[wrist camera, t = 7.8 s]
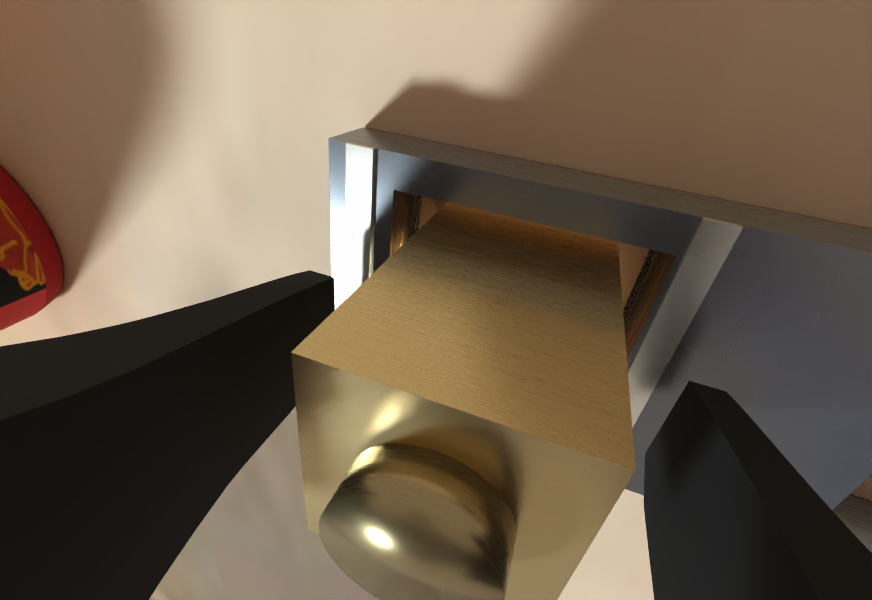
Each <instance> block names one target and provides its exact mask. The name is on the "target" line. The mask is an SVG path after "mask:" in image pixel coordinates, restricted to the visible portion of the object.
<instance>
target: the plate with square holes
mask: <svg viewBox="0 0 872 600" xmlns="http://www.w3.org/2000/svg"><path fill="white" fill-rule="evenodd" d="M329 178H330V222H331V266H332V277H334V284H335V309H337V308H338V307H339V306H340V305H341V304H342V303H343V302H344V301H345V300H346V299H347V298H348V297H349V296H350V295H351V294H352V293H353V292H354V291H355V290H356V289H357V288H358V287H359V286H360V285H361V284H362V283H363V282H365V281H366V280H367V279H368V278H369V277H370V276H371V275H372V274H373V273H374V272H375V271H376V270H377V269H378V268H379V267H380V266H381V265H382V264H383V263H384V262H385V261H386V260H387V259H388V258H389V257H390V256H391V255H393V254H394V253H395V252H396V251H397V250H398V249H399V248H400V247H401V246H402V245H403V244H404V243H405V242H406V241H407V240H408V239H409V238H410V237H411V236H412V235H413V234H414V227H415V217H416V206H417V195H418V196H422V201H421V211H420V221H419V228H421V227H422V226H423V225H424V224H425V223H426V222H427V221H428V220H429V219H430V218H431V217H432V216H433V215H434V214H435V213H436V212H437V211H438V210H439V209H440V208H441V207H442V206H443V205H448V206H452V207H456V208H461V209H465V210H469V211H474V212H478V213H482V214H486V215H491V216H495V217H499V218H504V219H508V220H512V221H516V222H521V223H525V224H529V225H534V226H538V227H542V228H546V229H551V230H555V231H559V232H564V233H568V234H572V235H576V236H581V237H585V238H589V239H594V240H598V241H602V242H606V243H611V244H615V245H618V249H619V262H620V275H621V288H622V301H623V310H624V307H625V305H626V303H627V300H628V298H629V296H630V293H631V291H632V289H633V287H634V284H635V282H636V280H637V277H638V275H639V273H640V270H641V268H642V266H643V264H644V261H645V259H646V257H647V254H648V252H649V250H650V249H651V250H656V252H655V254H654V256H653V259H652V261H651V263H650V265H649V268H648V270H647V272H646V274H645V277H644V279H643V281H642V283H641V286H640V288H639V290H638V292H637V295H636V297H635V299H634V301H633V304H632V306H631V308H630V310H629V313H628V315H627V317H626V319H625V322H624V327H625V340H626V353H627V366H628V379H629V392H630V406H631V419H632V432H633V445H634V458H635V472H634V474H633V475H632V477H631V479H630V480H629V482H628V483H627V485H626V487H625V489H627V490H630V491H633V492H636V493H639V494H642V495H644V470H645V453H646V451H647V449H648V448H649V446H650V444H651V443H652V441H653V439H654V438H655V436H656V435H657V433H658V431H659V430H660V428H661V426H662V425H663V423H664V421H665V420H666V418H667V416H668V415H669V413H670V411H671V410H672V408H673V406H674V405H675V403H676V401H677V400H678V398H679V397H680V395H681V393H682V392H683V390H684V388H685V387H686V385H687V383H688V382H689V381H692V382H696V383H699V384H703V385H706V386H709V387H713V388H716V389H720V390H723V391H726V392H727V393H728V394H729V395H730V396H731V397H732V398H733V399H734V400H735V401H736V402H737V403H738V404H739V405H740V406H741V407H742V408H743V410H744V411H745V412H746V413H747V414H748V415H749V416H750V417H751V419H752V420H753V421H754V422H755V423H756V424H757V425H758V427H759V428H760V429H761V430H762V431H763V432H764V433H765V435H766V436H767V437H768V438H769V439H770V440H771V442H772V443H773V444H774V445H775V446H776V447H777V448H778V450H779V451H780V452H781V453H782V454H783V455H784V457H785V458H786V459H787V460H788V461H789V462H790V463H791V465H792V466H793V467H794V468H795V469H796V470H797V471H798V473H799V474H800V475H801V476H802V477H803V478H804V479H805V481H806V482H807V483H808V484H809V485H810V486H811V487H812V488H813V490H814V491H815V492H816V493H817V494H818V495H819V496H820V498H821V499H822V500H823V501H824V502H825V503H826V504H827V505H828V506H829V508H830V509H831V510H832V511H833V512H834V513H835V514H836V515H837V516H838V517H839V519H840V520H841V521H842V522H843V523H844V524H845V525H846V526H847V527H848V528H849V529H850V530H851V532H852V533H853V534H854V535H855V536H856V537H857V538H858V539H859V540H860V541H861V542H862V543H863V544H864V545H865V547H866V548H867V549H868V550H869V551H870V552H871V553H872V502H870V501H867V500H863V499H860V498H857V497H854V496H851V495H849V494H850V493H852V492H853V491H854V490H855V489H856V488H857V487H858V486H859V485H861V484H862V483H863V482H864V481H865V480H866V479H867V478H868V477H869V476H871V475H872V229H867V228H862V227H857V226H852V225H847V224H842V223H837V222H832V221H827V220H822V219H817V218H812V217H807V216H802V215H797V214H792V213H787V212H782V211H777V210H772V209H767V208H762V207H757V206H752V205H747V204H742V203H737V202H732V201H727V200H722V199H717V198H712V197H707V196H702V195H697V194H692V193H687V192H682V191H677V190H672V189H667V188H662V187H657V186H652V185H647V184H642V183H637V182H632V181H627V180H622V179H617V178H612V177H607V176H602V175H597V174H592V173H587V172H582V171H577V170H572V169H567V168H562V167H557V166H552V165H547V164H542V163H537V162H532V161H527V160H522V159H517V158H512V157H507V156H502V155H497V154H492V153H487V152H482V151H477V150H472V149H467V148H462V147H457V146H452V145H447V144H442V143H437V142H432V141H427V140H422V139H417V138H412V137H407V136H402V135H397V134H392V133H387V132H382V131H377V130H372V129H368V128H360V129H357V130H354V131H350V132H347V133H344V134H341V135H338V136H335V137H332V138H329Z"/></svg>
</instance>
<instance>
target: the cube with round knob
mask: <svg viewBox="0 0 872 600" xmlns="http://www.w3.org/2000/svg"><path fill="white" fill-rule="evenodd" d="M291 358H292V368H293V379H294V390H295V400H296V411H297V421H298V432H299V443H300V453H301V464H302V475H303V485H304V496H305V506H306V517H307V528H308V530H309V531H311V532H313V533H316V534H318V535H320V537H321V540H322V543H323V545H324V547H325V549H326V551H327V552H328V554H329V555H330V557H331V558H332V559H333V561H334V562H335V563H336V564H337V565H338V566H339V568H340V569H341V570H342V571H343V572H344V573H345V574H346V575H347V576H349V577H350V578H351V579H352V580H353V581H354V582H355V583H357V584H358V585H359V586H360V587H362V588H363V589H365V590H366V591H367V592H369V593H370V594H372V595H373V596H375V597H377V598H378V599H380V600H557V599H558V597H559V596H560V594H561V592H562V591H563V589H564V587H565V586H566V584H567V582H568V581H569V579H570V577H571V576H572V574H573V572H574V571H575V569H576V568H577V566H578V564H579V563H580V561H581V559H582V558H583V556H584V554H585V553H586V551H587V549H588V548H589V546H590V544H591V543H592V541H593V540H594V538H595V536H596V535H597V533H598V531H599V530H600V528H601V526H602V525H603V523H604V521H605V520H606V518H607V516H608V515H609V513H610V512H611V510H612V508H613V507H614V505H615V503H616V502H617V500H618V498H619V497H620V495H621V493H622V492H623V490H624V488H625V487H626V485H627V483H628V482H629V480H630V479H631V477H632V475H633V474H634V472H635V458H634V445H633V432H632V419H631V406H630V392H629V379H628V366H627V353H626V340H625V327H624V314H623V301H622V288H621V275H620V262H619V249H618V245H615V244H611V243H606V242H602V241H598V240H594V239H589V238H585V237H581V236H576V235H572V234H568V233H564V232H559V231H555V230H551V229H546V228H542V227H538V226H534V225H529V224H525V223H521V222H516V221H512V220H508V219H504V218H499V217H495V216H491V215H486V214H482V213H478V212H474V211H469V210H465V209H461V208H456V207H452V206H448V205H443V206H442V207H441V208H440V209H439V210H438V211H437V212H436V213H435V214H434V215H433V216H432V217H431V218H430V219H429V220H428V221H427V222H426V223H425V224H424V225H423V226H422V227H421V228H419V229H418V230H417V231H416V232H415V233H414V234H413V235H412V236H411V237H410V238H409V239H408V240H407V241H406V242H405V243H404V244H403V245H402V246H401V247H400V248H399V249H398V250H397V251H396V252H395V253H394V254H393V255H391V256H390V257H389V258H388V259H387V260H386V261H385V262H384V263H383V264H382V265H381V266H380V267H379V268H378V269H377V270H376V271H375V272H374V273H373V274H372V275H371V276H370V277H369V278H368V279H367V280H366V281H365V282H363V283H362V284H361V285H360V286H359V287H358V288H357V289H356V290H355V291H354V292H353V293H352V294H351V295H350V296H349V297H348V298H347V299H346V300H345V301H344V302H343V303H342V304H341V305H340V306H339V307H338V308H337V309H335V310H334V311H333V312H332V313H331V314H330V315H329V316H328V317H327V318H326V319H325V320H324V321H323V322H322V323H321V324H320V325H319V326H318V327H317V328H316V329H315V330H314V331H313V332H312V333H311V334H310V335H309V336H307V337H306V338H305V339H304V340H303V341H302V342H301V343H300V344H299V345H298V346H297V347H296V348H295V349H294V350H293V351H292V352H291Z"/></svg>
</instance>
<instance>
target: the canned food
mask: <svg viewBox="0 0 872 600" xmlns="http://www.w3.org/2000/svg"><path fill="white" fill-rule="evenodd" d="M62 283H63V265H62V260H61V257H60V253H59V250H58V247H57V245H56V242H55V240H54V238H53V236H52V233H51V231H50V230H49V228H48V226H47V224H46V223H45V221H44V219H43V217H42V215H41V214H40V213H39V211H38V210H37V208H36V207H35V206H34V204H33V203H32V201H31V200H30V198H29V197H28V196H27V195H26V194H25V192H24V191H23V190H22V189H21V188H20V186H19V185H18V184H17V183H16V182H15V181H14V180H13V179H12V178H11V177H10V176H9V175H8V174H7V173H6V172H5V171H4V170H3V169H2V168H1V167H0V330H3V329H5V328H7V327H9V326H11V325H13V324H15V323H18V322H20V321H22V320H24V319H26V318H28V317H30V316H33V315H34V314H36V313H37V312H39V311H40V310H42V309H43V308H44V307H45V306H46V305H48V304H49V303H50V302H51V301H52V300H54V299H55V298H56V297H57V296H58V294H59V292H60V291H61V289H62Z"/></svg>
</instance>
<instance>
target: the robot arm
mask: <svg viewBox="0 0 872 600" xmlns="http://www.w3.org/2000/svg"><path fill="white" fill-rule="evenodd" d="M334 310H335V284H334V277H331V276H327V275H324V274H320V273H317V272H313V271H305V272H301V273H297V274H293V275H289V276H286V277H283V278H279V279H276V280H273V281H269V282H266V283H263V284H260V285H257V286H254V287H250V288H247V289H244V290H241V291H238V292H234V293H231V294H228V295H225V296H222V297H219V298H215V299H212V300H209V301H205V302H202V303H198V304H195V305H191V306H188V307H184V308H181V309H177V310H173V311H170V312H166V313H163V314H159V315H156V316H152V317H148V318H144V319H140V320H136V321H132V322H128V323H124V324H120V325H115V326H111V327H106V328H101V329H97V330H92V331H87V332H82V333H78V334H73V335H67V336H62V337H57V338H50V339H44V340H38V341H32V342H26V343H19V344H13V345H7V346H1V347H0V600H149V598H150V597H151V595H152V594H153V592H154V591H155V589H156V587H157V586H158V584H159V583H160V581H161V580H162V578H163V577H164V575H165V574H166V572H167V571H168V569H169V568H170V566H171V565H172V564H173V562H174V561H175V559H176V558H177V556H178V555H179V553H180V552H181V550H182V549H183V547H184V546H185V544H186V543H187V542H188V540H189V539H190V537H191V536H192V534H193V533H194V531H195V530H196V528H197V527H198V526H199V524H200V523H201V521H202V520H203V519H204V517H205V516H206V515H207V513H208V512H209V510H210V509H211V508H212V506H213V505H214V503H215V502H216V501H217V499H218V498H219V496H220V495H221V494H222V492H223V491H224V490H225V488H226V487H227V485H228V484H229V483H230V482H231V480H232V479H233V478H234V477H235V476H236V474H237V473H238V472H239V471H240V469H241V468H242V467H243V466H244V465H245V463H246V462H247V461H248V460H249V459H250V458H251V457H252V455H253V454H254V453H255V452H256V451H257V450H258V449H259V447H260V446H261V445H262V444H263V443H264V442H265V441H266V439H267V438H268V437H269V436H270V435H271V434H272V433H273V431H274V430H275V429H276V428H277V427H278V426H279V425H280V423H281V422H282V421H283V420H284V419H285V418H286V417H287V415H288V414H289V413H290V412H291V411H292V410H293V408H294V407H295V406H296V400H295V390H294V379H293V368H292V358H291V352H292V351H293V350H294V349H295V348H296V347H297V346H298V345H299V344H300V343H301V342H302V341H303V340H304V339H305V338H306V337H307V336H309V335H310V334H311V333H312V332H313V331H314V330H315V329H316V328H317V327H318V326H319V325H320V324H321V323H322V322H323V321H324V320H325V319H326V318H327V317H328V316H329V315H330V314H331V313H332V312H333V311H334ZM644 511H645V521H646V530H647V539H648V549H649V557H650V566H651V574H652V583H653V592H654V600H872V553H871V552H870V551H869V550H868V549H867V548H866V547H865V545H864V544H863V543H862V542H861V541H860V540H859V539H858V538H857V537H856V536H855V535H854V534H853V533H852V532H851V530H850V529H849V528H848V527H847V526H846V525H845V524H844V523H843V522H842V521H841V520H840V519H839V517H838V516H837V515H836V514H835V513H834V512H833V511H832V510H831V509H830V508H829V506H828V505H827V504H826V503H825V502H824V501H823V500H822V499H821V498H820V496H819V495H818V494H817V493H816V492H815V491H814V490H813V488H812V487H811V486H810V485H809V484H808V483H807V482H806V481H805V479H804V478H803V477H802V476H801V475H800V474H799V473H798V471H797V470H796V469H795V468H794V467H793V466H792V465H791V463H790V462H789V461H788V460H787V459H786V458H785V457H784V455H783V454H782V453H781V452H780V451H779V450H778V448H777V447H776V446H775V445H774V444H773V443H772V442H771V440H770V439H769V438H768V437H767V436H766V435H765V433H764V432H763V431H762V430H761V429H760V428H759V427H758V425H757V424H756V423H755V422H754V421H753V420H752V419H751V417H750V416H749V415H748V414H747V413H746V412H745V411H744V410H743V408H742V407H741V406H740V405H739V404H738V403H737V402H736V401H735V400H734V399H733V398H732V397H731V396H730V395H729V394H728V393H727V392H726V391H723V390H720V389H716V388H713V387H709V386H706V385H703V384H699V383H696V382H692V381H689V382H688V383H687V385H686V387H685V388H684V390H683V392H682V393H681V395H680V397H679V398H678V400H677V401H676V403H675V405H674V406H673V408H672V410H671V411H670V413H669V415H668V416H667V418H666V420H665V421H664V423H663V425H662V426H661V428H660V430H659V431H658V433H657V435H656V436H655V438H654V439H653V441H652V443H651V444H650V446H649V448H648V449H647V451H646V453H645V470H644Z"/></svg>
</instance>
